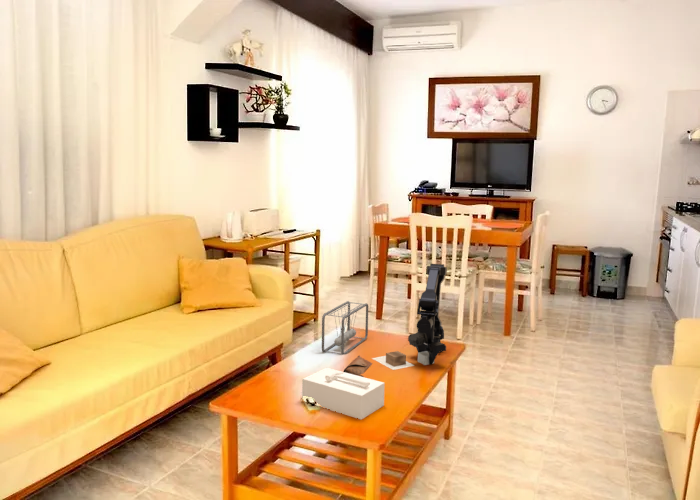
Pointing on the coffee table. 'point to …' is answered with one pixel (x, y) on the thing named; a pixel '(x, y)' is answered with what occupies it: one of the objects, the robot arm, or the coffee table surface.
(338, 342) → the newton's cradle
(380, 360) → the plate
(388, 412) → the coffee table surface
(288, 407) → the coffee table surface
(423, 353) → the top block
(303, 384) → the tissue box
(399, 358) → the base block
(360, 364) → the sunglasses case
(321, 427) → the coffee table surface
